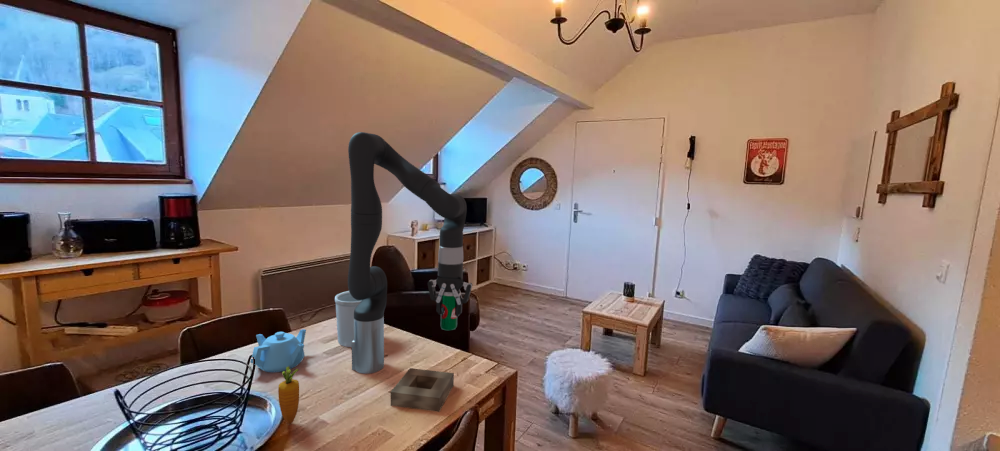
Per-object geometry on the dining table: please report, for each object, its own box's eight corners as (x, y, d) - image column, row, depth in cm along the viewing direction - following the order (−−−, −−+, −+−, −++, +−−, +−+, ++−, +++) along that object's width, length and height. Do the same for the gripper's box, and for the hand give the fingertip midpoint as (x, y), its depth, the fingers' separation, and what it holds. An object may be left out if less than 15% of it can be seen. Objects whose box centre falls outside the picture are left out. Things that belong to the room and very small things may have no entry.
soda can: (454, 332, 122) (455, 293, 120) (438, 330, 123) (439, 292, 121) (458, 325, 127) (460, 289, 125) (443, 324, 128) (444, 287, 126)
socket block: (390, 405, 111) (390, 391, 111) (409, 380, 125) (409, 368, 124) (439, 411, 109) (439, 398, 109) (453, 385, 123) (453, 373, 122)
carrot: (284, 418, 104) (282, 363, 102) (304, 417, 105) (302, 363, 103) (275, 430, 99) (272, 373, 97) (296, 430, 100) (294, 372, 98)
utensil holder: (345, 351, 143) (344, 304, 141) (329, 338, 154) (328, 294, 152) (383, 341, 153) (383, 296, 151) (366, 329, 164) (366, 287, 162)
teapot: (257, 357, 137) (256, 327, 136) (306, 350, 143) (305, 321, 142) (250, 378, 123) (248, 345, 122) (304, 370, 129) (303, 338, 128)
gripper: (423, 261, 119) (422, 316, 121) (471, 265, 117) (469, 321, 119) (431, 256, 126) (430, 308, 129) (476, 259, 124) (474, 312, 127)
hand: (449, 314), depth 124 cm, fingers closed on soda can, 5 cm apart
